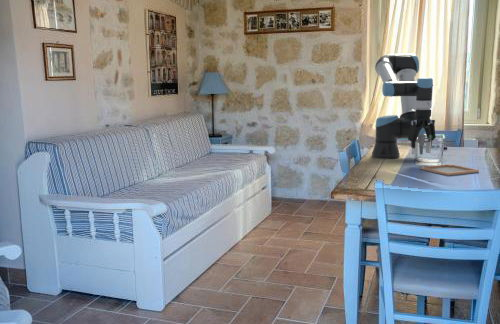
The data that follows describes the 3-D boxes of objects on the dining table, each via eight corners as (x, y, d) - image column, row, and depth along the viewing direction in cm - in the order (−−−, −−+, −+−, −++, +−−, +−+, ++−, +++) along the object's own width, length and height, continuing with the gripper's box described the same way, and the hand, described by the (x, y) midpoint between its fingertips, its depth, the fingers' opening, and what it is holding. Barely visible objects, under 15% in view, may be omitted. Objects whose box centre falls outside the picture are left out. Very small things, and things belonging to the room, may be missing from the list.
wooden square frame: (420, 169, 233) (420, 167, 232) (449, 166, 240) (450, 164, 239) (448, 175, 217) (448, 173, 216) (478, 172, 224) (478, 169, 223)
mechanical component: (432, 154, 243) (433, 135, 241) (410, 154, 245) (411, 135, 243) (431, 153, 245) (432, 134, 243) (410, 153, 248) (410, 134, 246)
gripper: (411, 110, 233) (409, 156, 238) (445, 108, 241) (442, 153, 246) (401, 109, 240) (399, 154, 244) (434, 107, 248) (431, 150, 252)
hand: (421, 153), depth 245 cm, fingers closed on mechanical component, 8 cm apart
